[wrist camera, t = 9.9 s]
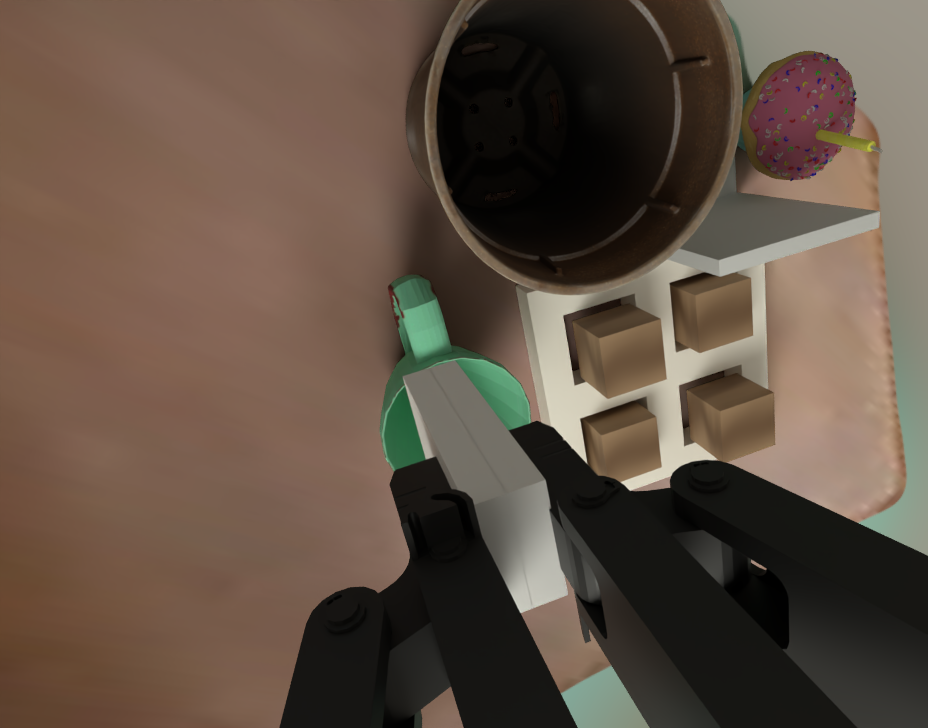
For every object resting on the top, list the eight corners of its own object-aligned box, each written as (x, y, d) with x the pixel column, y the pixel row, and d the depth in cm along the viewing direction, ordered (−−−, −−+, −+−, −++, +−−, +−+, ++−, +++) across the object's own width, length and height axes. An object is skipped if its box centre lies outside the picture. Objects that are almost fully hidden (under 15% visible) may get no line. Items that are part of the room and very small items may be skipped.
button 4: (662, 282, 51) (695, 295, 47) (714, 266, 52) (751, 277, 48) (667, 336, 53) (699, 353, 49) (717, 320, 54) (753, 335, 50)
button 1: (577, 412, 53) (601, 435, 49) (628, 395, 54) (656, 416, 50) (584, 460, 55) (609, 486, 51) (634, 442, 56) (661, 467, 52)
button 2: (572, 320, 48) (599, 338, 44) (629, 303, 49) (660, 319, 45) (581, 377, 50) (607, 399, 46) (635, 359, 51) (666, 379, 46)
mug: (499, 406, 52) (545, 465, 43) (386, 450, 50) (408, 520, 41) (451, 234, 46) (492, 259, 37) (321, 278, 45) (331, 315, 36)
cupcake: (791, 174, 52) (928, 185, 41) (700, 178, 50) (818, 191, 39) (810, 57, 49) (962, 36, 38) (713, 57, 47) (845, 34, 36)
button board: (515, 285, 49) (526, 293, 46) (742, 219, 52) (763, 222, 50) (555, 498, 56) (567, 513, 54) (751, 428, 60) (769, 440, 57)
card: (601, 191, 48) (716, 213, 35) (728, 156, 50) (881, 165, 37) (607, 244, 49) (720, 283, 37) (730, 208, 51) (878, 234, 39)
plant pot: (620, 196, 48) (766, 224, 34) (427, 278, 47) (493, 345, 32) (564, -40, 42) (715, -133, 27) (336, 45, 40) (367, -6, 25)
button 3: (686, 389, 53) (720, 411, 49) (736, 372, 54) (773, 392, 50) (690, 438, 55) (723, 463, 51) (739, 421, 56) (775, 444, 51)
